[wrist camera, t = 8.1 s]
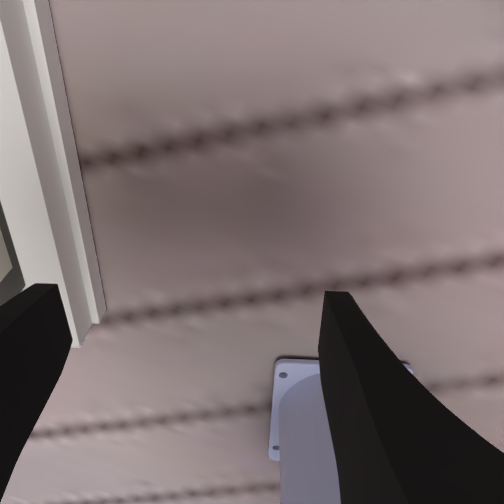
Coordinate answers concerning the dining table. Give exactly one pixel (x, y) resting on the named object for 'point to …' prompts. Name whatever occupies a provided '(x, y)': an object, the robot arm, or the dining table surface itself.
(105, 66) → the dining table surface
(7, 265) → the grey rectangular block
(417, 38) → the dining table surface
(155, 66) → the dining table surface
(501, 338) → the dining table surface
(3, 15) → the ledge
